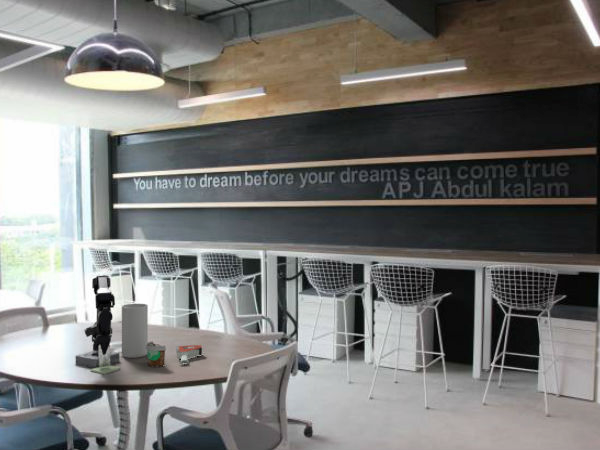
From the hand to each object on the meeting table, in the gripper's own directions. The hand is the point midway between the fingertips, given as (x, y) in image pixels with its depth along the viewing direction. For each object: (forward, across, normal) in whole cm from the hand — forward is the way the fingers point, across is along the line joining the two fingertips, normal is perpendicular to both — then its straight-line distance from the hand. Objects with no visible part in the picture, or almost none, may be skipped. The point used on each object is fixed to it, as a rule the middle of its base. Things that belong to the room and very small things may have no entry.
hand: (104, 353), depth 257 cm
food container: (+8, -2, +22) cm, 23 cm away
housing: (+8, -14, -4) cm, 16 cm away
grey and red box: (+8, -10, +38) cm, 40 cm away
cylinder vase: (+8, -24, +13) cm, 28 cm away
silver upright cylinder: (+6, 0, 0) cm, 6 cm away
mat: (+8, 0, 0) cm, 8 cm away
